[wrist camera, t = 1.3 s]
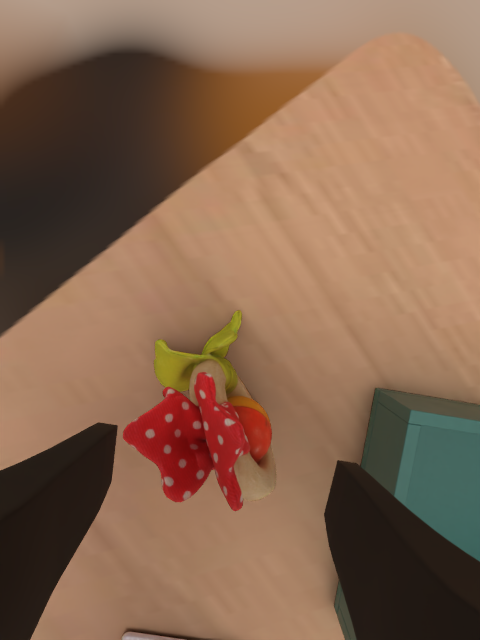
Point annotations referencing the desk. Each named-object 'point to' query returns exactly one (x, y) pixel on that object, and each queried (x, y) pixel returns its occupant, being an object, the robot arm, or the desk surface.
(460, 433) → the open box
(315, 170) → the desk surface
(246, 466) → the bird rattle
